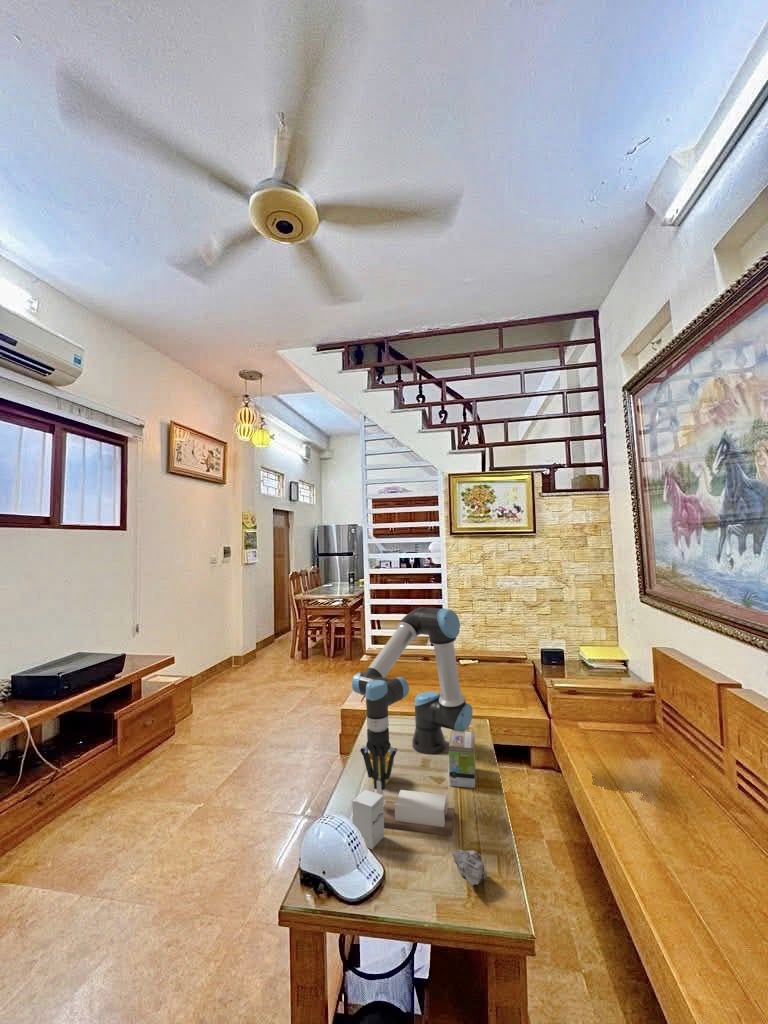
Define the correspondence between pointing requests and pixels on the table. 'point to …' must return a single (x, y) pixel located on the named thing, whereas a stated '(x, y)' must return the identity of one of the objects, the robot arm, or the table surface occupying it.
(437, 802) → the panel
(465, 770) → the tea box
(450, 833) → the board
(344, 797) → the table surface
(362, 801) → the supplement box
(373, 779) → the plant pot
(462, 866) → the mineral specimen
